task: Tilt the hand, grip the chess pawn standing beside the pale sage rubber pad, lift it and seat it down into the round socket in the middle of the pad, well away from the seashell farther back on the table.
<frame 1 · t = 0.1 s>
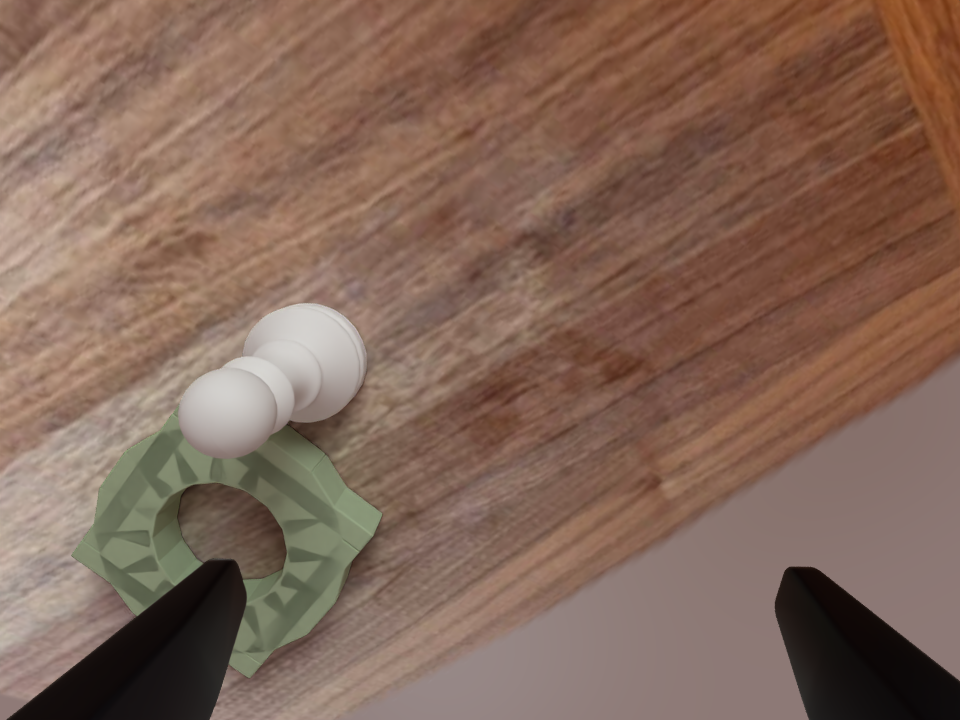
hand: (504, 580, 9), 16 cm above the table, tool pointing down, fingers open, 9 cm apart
pad: (239, 523, 27), on the table
chess pawn: (314, 357, 25), on the table
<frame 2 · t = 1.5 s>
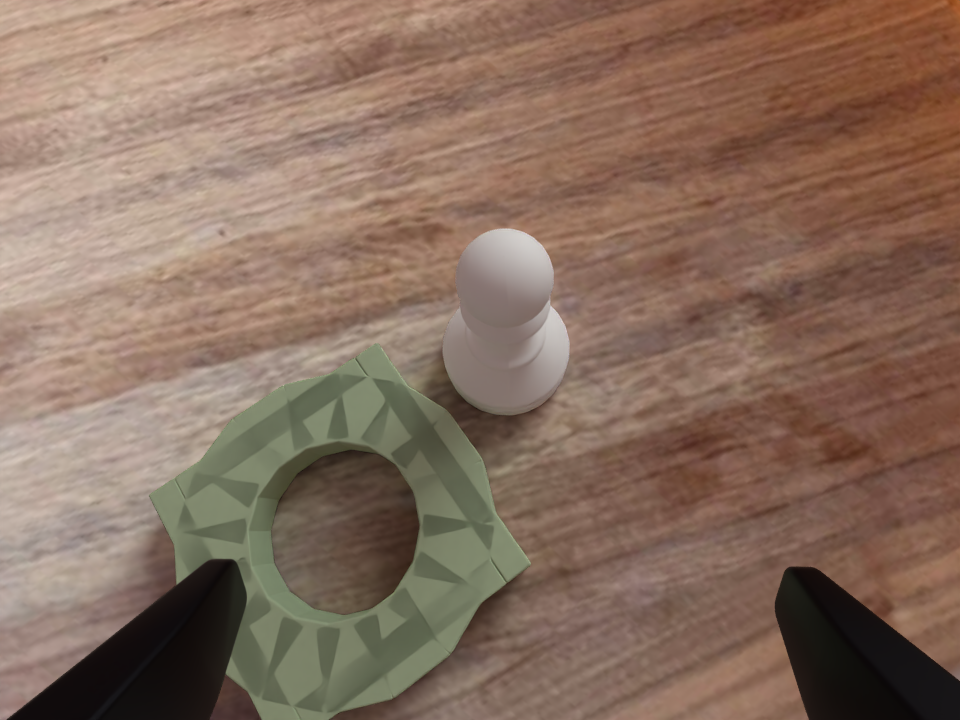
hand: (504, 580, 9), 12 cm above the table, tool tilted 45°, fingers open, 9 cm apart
pad: (348, 528, 22), on the table
chess pawn: (505, 359, 24), on the table
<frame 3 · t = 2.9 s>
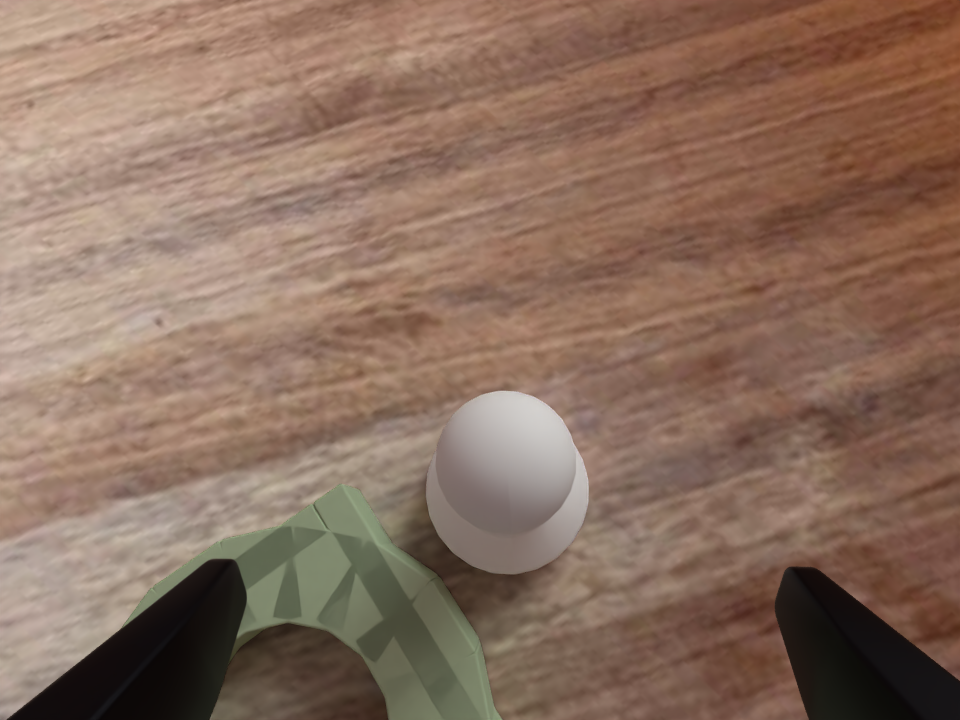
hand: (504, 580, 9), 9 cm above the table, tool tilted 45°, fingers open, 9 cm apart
chess pawn: (506, 491, 19), on the table
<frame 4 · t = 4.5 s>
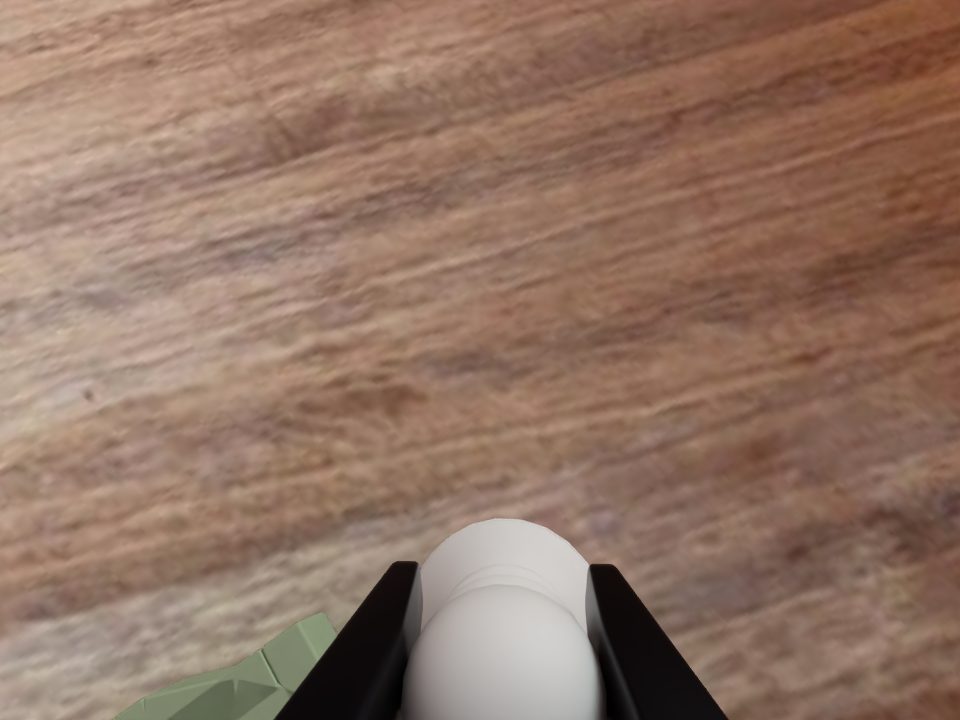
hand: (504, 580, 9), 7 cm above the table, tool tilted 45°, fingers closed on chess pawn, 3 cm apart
chess pawn: (506, 615, 15), on the table, touching gripper
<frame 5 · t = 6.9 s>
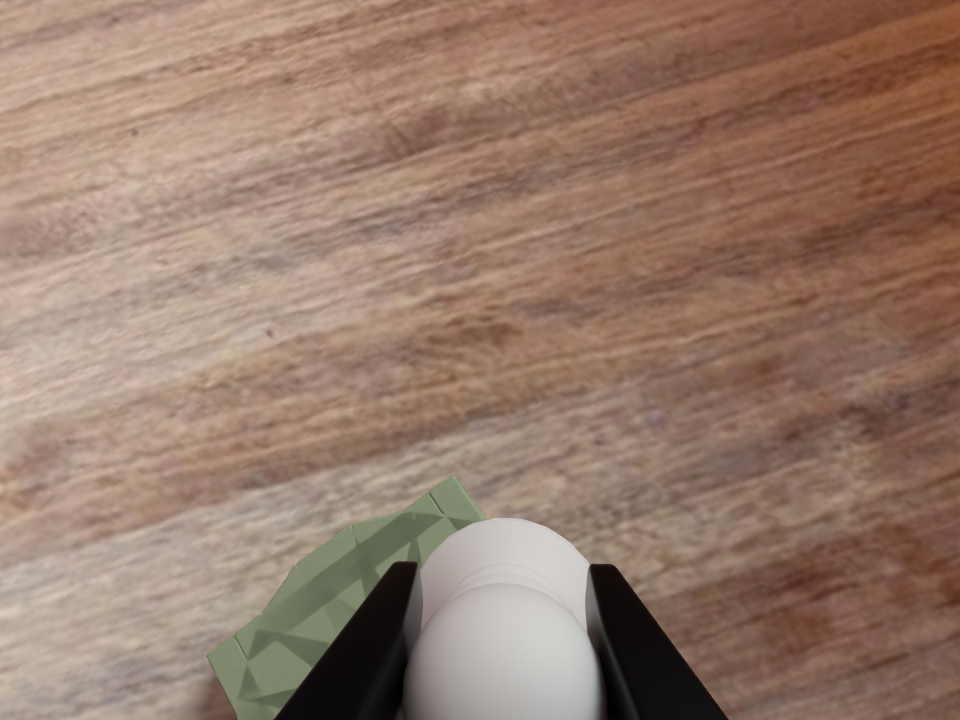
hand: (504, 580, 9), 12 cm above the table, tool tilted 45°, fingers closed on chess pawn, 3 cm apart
pad: (423, 680, 20), on the table
chess pawn: (506, 614, 15), point 5 cm above the table, touching gripper
when the fingers open (7 cm above the table, at t = 9.4 s): chess pawn stays where it is, resting in pad.
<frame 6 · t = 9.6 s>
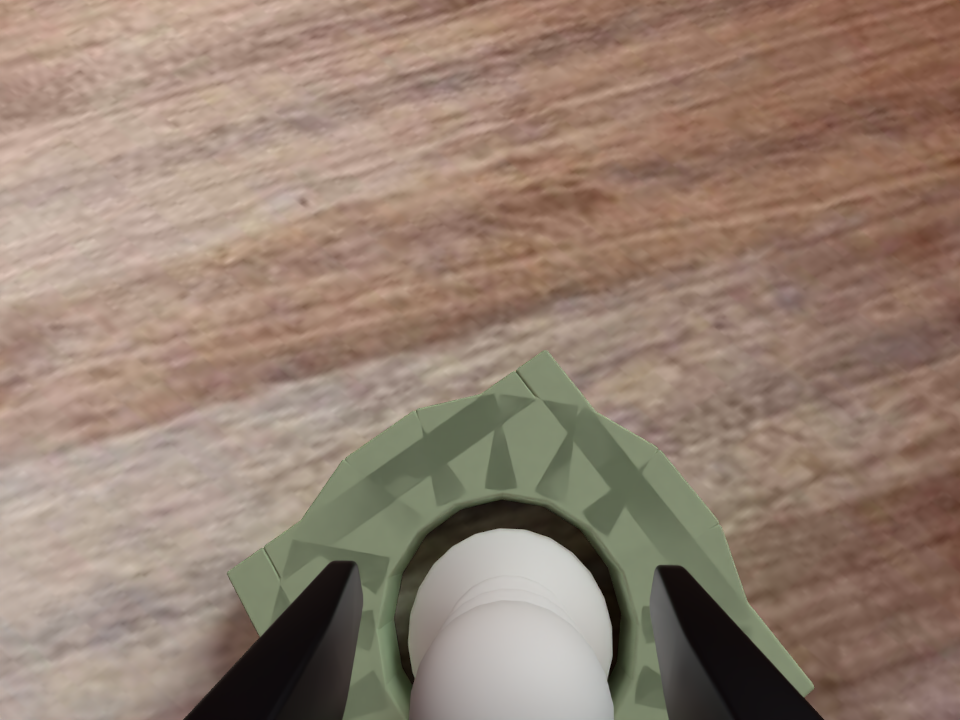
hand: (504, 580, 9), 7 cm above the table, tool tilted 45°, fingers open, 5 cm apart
pad: (506, 615, 15), on the table
chess pawn: (509, 624, 15), resting in pad
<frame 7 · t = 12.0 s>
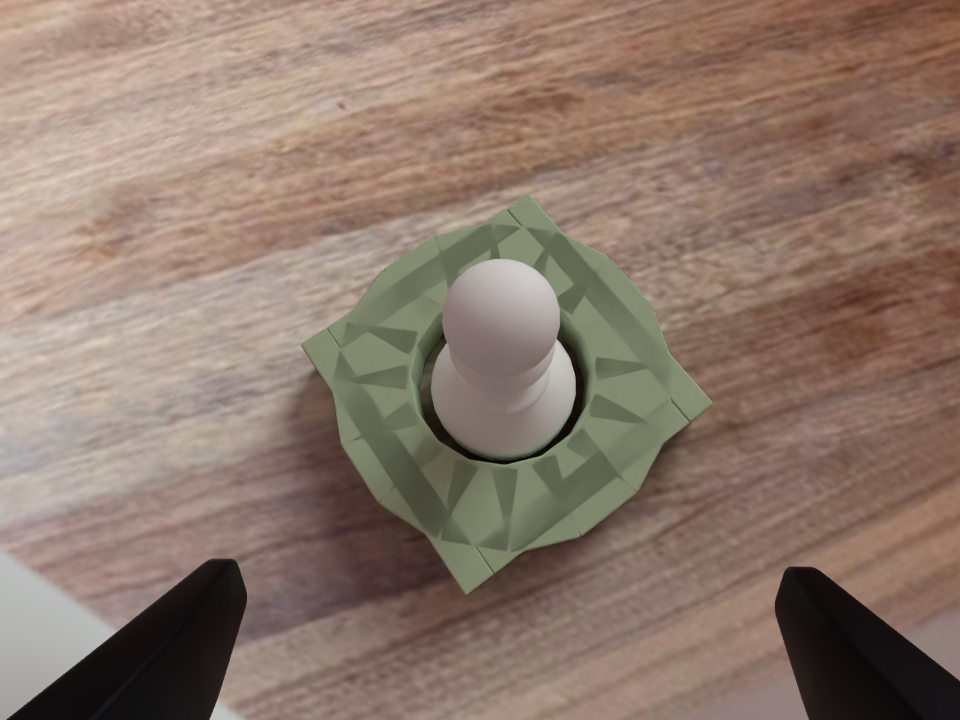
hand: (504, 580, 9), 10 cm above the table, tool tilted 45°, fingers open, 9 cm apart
pad: (501, 387, 21), on the table
chess pawn: (503, 395, 21), resting in pad
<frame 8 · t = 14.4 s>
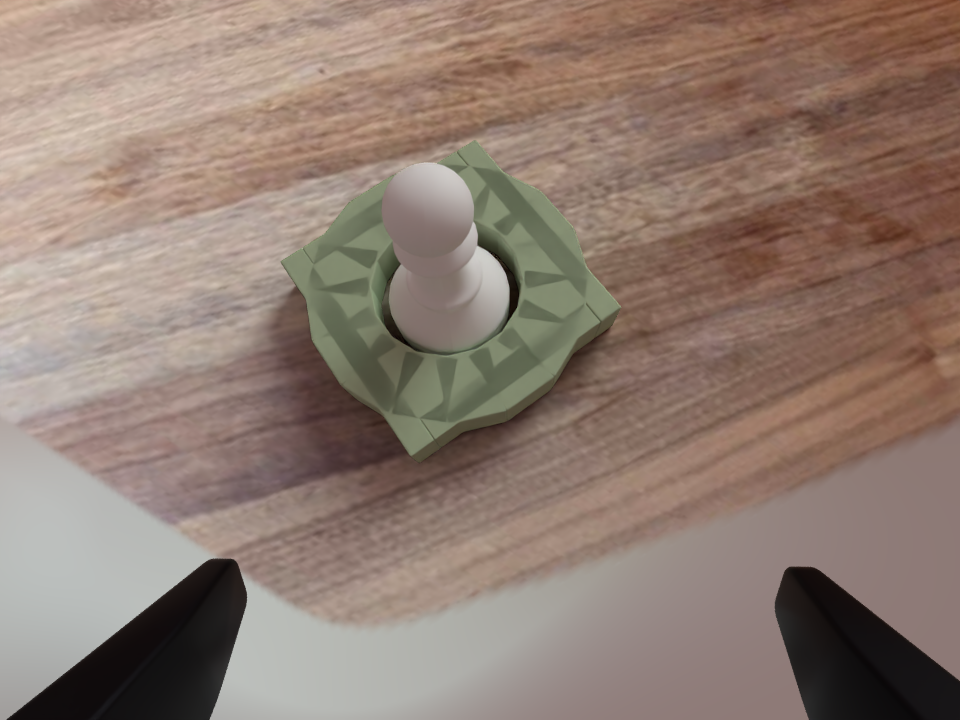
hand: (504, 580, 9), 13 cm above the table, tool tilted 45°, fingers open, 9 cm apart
pad: (450, 303, 24), on the table
chess pawn: (452, 309, 25), resting in pad
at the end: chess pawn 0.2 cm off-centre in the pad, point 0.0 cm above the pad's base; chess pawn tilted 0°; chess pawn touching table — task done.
